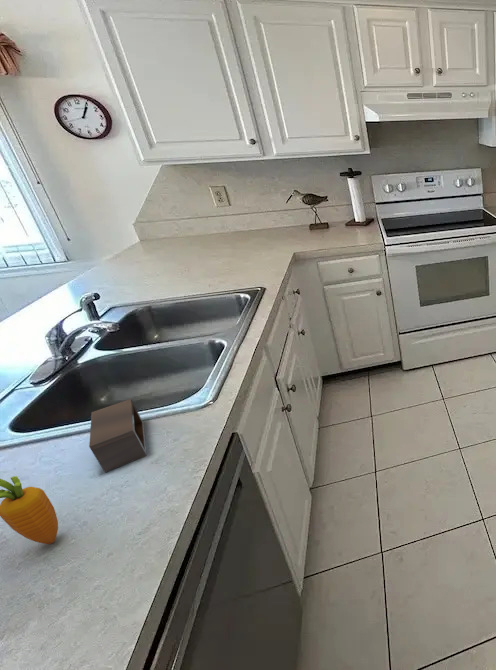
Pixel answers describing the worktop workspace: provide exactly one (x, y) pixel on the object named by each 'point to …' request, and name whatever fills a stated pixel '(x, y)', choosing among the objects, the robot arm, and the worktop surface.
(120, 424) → the shelf
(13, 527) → the carrot
